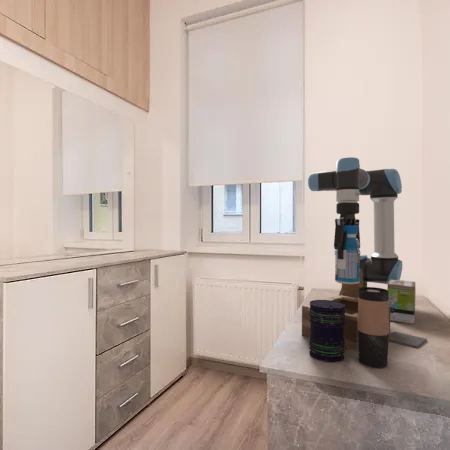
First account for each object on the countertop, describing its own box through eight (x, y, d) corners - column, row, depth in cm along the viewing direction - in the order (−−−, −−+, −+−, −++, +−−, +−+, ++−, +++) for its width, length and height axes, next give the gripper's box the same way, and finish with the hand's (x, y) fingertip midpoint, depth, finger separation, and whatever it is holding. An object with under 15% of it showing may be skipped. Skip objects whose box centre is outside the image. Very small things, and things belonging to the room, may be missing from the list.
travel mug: (392, 362, 87) (392, 289, 87) (383, 371, 81) (384, 293, 81) (363, 354, 92) (363, 285, 92) (353, 362, 86) (354, 289, 86)
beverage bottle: (344, 285, 105) (344, 225, 106) (329, 280, 114) (329, 225, 114) (365, 284, 108) (365, 225, 108) (349, 279, 116) (349, 225, 116)
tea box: (415, 324, 122) (415, 286, 122) (386, 320, 127) (386, 283, 127) (415, 315, 135) (415, 280, 135) (388, 312, 140) (389, 278, 140)
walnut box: (339, 319, 127) (339, 294, 127) (390, 331, 113) (390, 303, 113) (301, 335, 108) (301, 305, 108) (356, 351, 94) (356, 317, 94)
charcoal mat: (394, 332, 111) (394, 331, 111) (426, 340, 104) (426, 338, 104) (383, 339, 104) (383, 337, 104) (417, 348, 97) (417, 346, 97)
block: (359, 321, 125) (359, 270, 125) (339, 318, 129) (340, 269, 129) (365, 315, 133) (365, 268, 134) (347, 312, 138) (347, 266, 138)
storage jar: (304, 349, 96) (304, 299, 96) (335, 348, 96) (336, 299, 96) (316, 363, 86) (316, 308, 86) (351, 362, 86) (351, 307, 87)
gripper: (344, 200, 101) (343, 271, 101) (370, 203, 115) (370, 266, 115) (322, 201, 106) (322, 269, 106) (350, 204, 121) (350, 264, 121)
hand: (347, 267), depth 111 cm, fingers closed on beverage bottle, 8 cm apart
